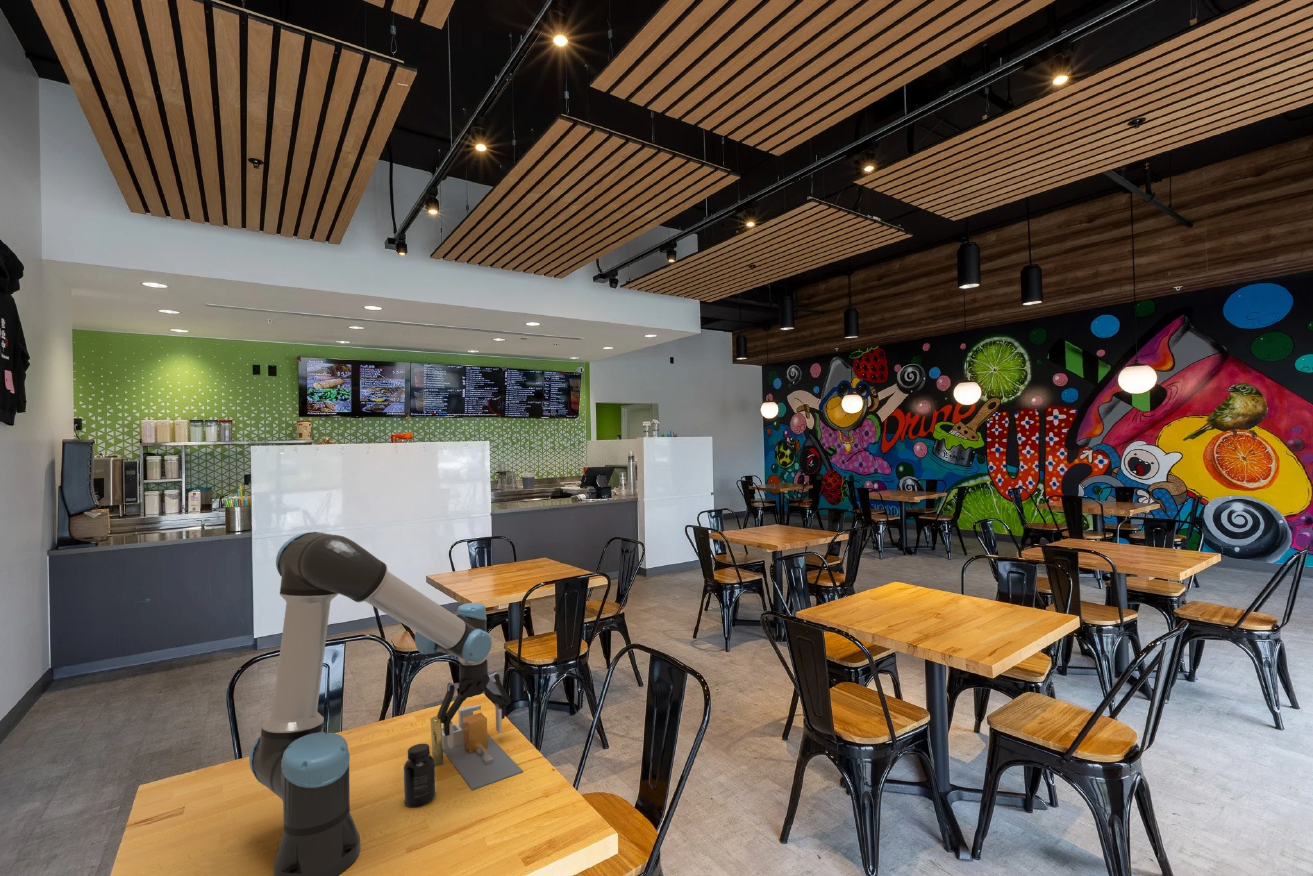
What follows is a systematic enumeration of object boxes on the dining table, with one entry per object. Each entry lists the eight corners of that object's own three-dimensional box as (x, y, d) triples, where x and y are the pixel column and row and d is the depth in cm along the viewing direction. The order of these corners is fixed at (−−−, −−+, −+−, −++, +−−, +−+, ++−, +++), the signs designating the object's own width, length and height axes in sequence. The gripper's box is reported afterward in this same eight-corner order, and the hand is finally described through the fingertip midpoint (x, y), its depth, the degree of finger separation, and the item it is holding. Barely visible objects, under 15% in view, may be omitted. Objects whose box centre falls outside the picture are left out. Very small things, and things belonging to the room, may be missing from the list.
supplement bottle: (440, 791, 145) (439, 741, 145) (427, 808, 138) (425, 755, 138) (413, 790, 145) (412, 740, 145) (398, 807, 138) (397, 755, 139)
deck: (523, 772, 152) (522, 739, 152) (472, 790, 145) (471, 755, 145) (483, 729, 177) (482, 701, 177) (437, 743, 169) (436, 713, 169)
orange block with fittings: (499, 760, 157) (498, 729, 158) (480, 766, 155) (479, 735, 155) (481, 741, 169) (480, 712, 169) (463, 746, 166) (462, 717, 166)
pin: (444, 764, 157) (442, 718, 157) (434, 767, 156) (431, 722, 155) (442, 759, 159) (439, 715, 159) (432, 763, 158) (429, 718, 158)
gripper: (511, 647, 176) (513, 720, 175) (422, 667, 162) (424, 747, 161) (521, 654, 170) (523, 730, 169) (430, 675, 155) (432, 758, 155)
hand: (475, 738), depth 165 cm, fingers open, 13 cm apart
